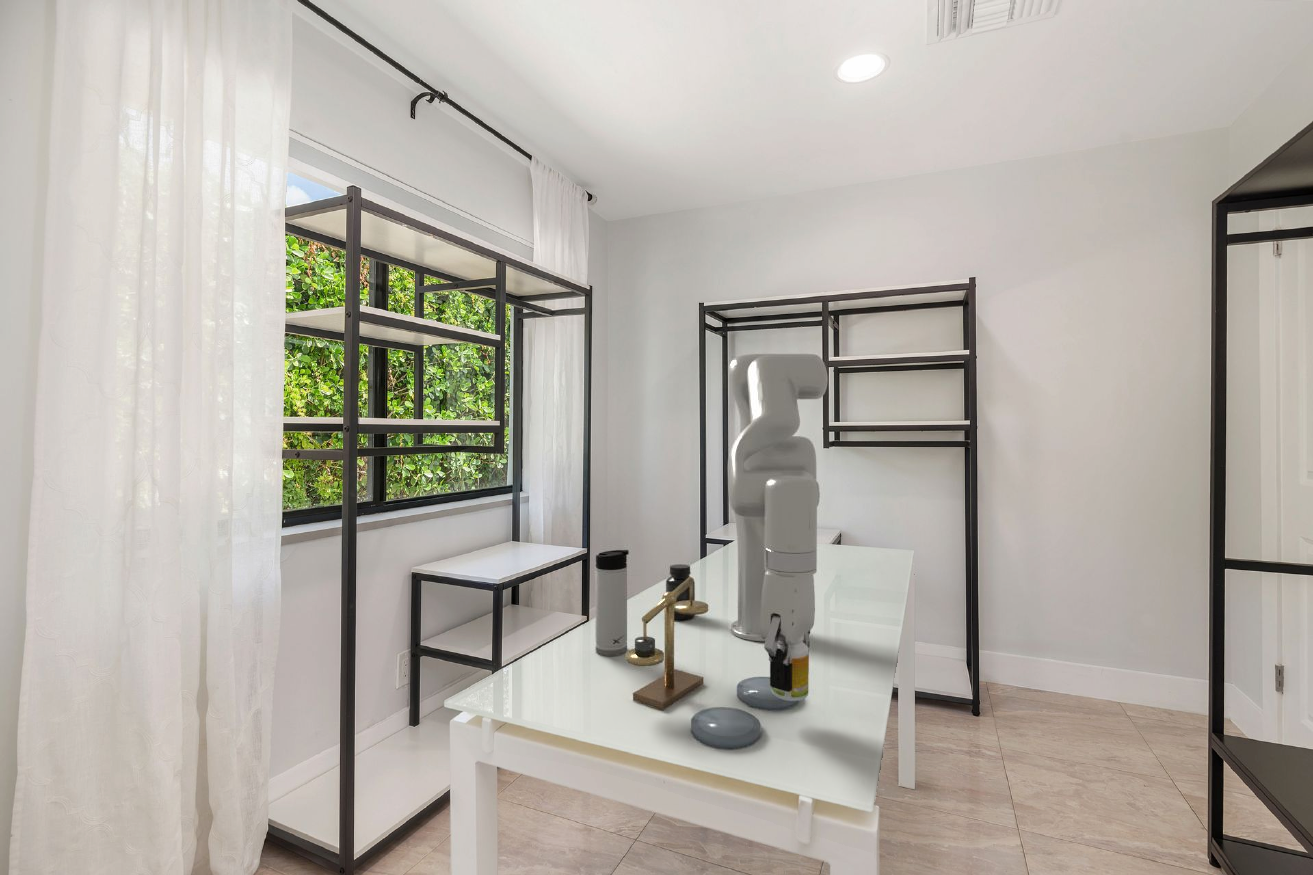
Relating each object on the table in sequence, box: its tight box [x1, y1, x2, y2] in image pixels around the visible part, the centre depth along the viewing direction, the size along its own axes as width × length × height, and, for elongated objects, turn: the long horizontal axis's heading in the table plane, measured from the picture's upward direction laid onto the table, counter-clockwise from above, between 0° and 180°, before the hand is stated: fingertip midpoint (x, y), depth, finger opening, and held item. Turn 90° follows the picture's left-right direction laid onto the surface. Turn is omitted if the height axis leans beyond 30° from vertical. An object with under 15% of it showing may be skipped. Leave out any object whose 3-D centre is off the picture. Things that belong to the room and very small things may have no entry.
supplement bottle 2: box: [771, 636, 810, 701], centre depth 88 cm, size 5×5×10 cm
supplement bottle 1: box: [665, 563, 696, 622], centre depth 140 cm, size 7×7×12 cm
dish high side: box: [736, 676, 800, 711], centre depth 97 cm, size 10×10×1 cm
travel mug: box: [594, 549, 630, 657], centre depth 118 cm, size 6×7×20 cm
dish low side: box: [690, 706, 762, 750], centre depth 86 cm, size 10×10×1 cm
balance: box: [625, 576, 709, 711], centre depth 99 cm, size 20×6×18 cm, turn 144°
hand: (789, 679), depth 88 cm, fingers closed on supplement bottle 2, 5 cm apart
